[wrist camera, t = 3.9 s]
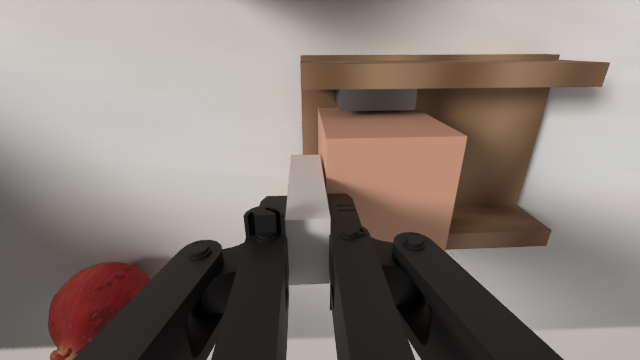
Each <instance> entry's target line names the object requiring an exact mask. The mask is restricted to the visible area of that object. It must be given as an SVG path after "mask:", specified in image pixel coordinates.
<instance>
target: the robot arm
mask: <svg viewBox="0 0 640 360" xmlns="http://www.w3.org/2000/svg"><path fill="white" fill-rule="evenodd" d="M244 223H245V232H246V239H245V242H244V243H242V244H240V245H238V246H235V247H231V248H227V249H223V250H222V247H221V245H220V244H219V243H218V242H216V241H212V240H200V241H196V242H193V243H191V244H189V245H187V246H185V247H184V248H183V249H181V250H180V251H179V252H178V253H177V254H176V255H175V256H174V257H173V258H172V259H171V260H170V261H169V262H168V263H167V264H166V265H165V266H164V267H163V268H162V269H161V270H160V271H159V272H158V273H157V274H156V275H155V277H154V278H153V279H152V280H151V281H150V282H149V283H148V284H147V285H146V286H145V287H144V288H143V289H142V290H141V291H140V292H139V293H138V294H137V295H136V296H135V297H134V298H133V299H132V300H131V301H130V302H129V303H128V304H127V305H126V306H125V307H124V308H123V309H122V310H121V311H120V312H119V313H118V314H117V315H116V316H115V317H114V318H113V319H112V320H111V321H110V322H109V323H108V324H107V325H106V326H105V327H104V328H103V329H102V330H101V331H100V332H99V333H98V334H97V335H96V336H95V337H94V338H93V339H92V340H91V341H90V342H89V343H88V344H87V345H86V346H85V348H84V349H83V350H82V351H81V352H80V353H79V354H78V355H77V356H76V357H75V358H74V359H73V360H206V359H207V358H208V356H209V354H210V352H211V351H212V349H213V347H214V345H215V343H216V345H215V348H214V352H213V355H212V359H211V360H286V351H287V329H288V307H289V286H288V283H289V285H300V284H324V283H330V310H332V314H333V323H334V332H335V341H336V350H337V359H338V360H415V358H414V355H413V352H412V350H411V347H410V344H409V341H410V343H411V345H412V346H413V348H414V349H415V351H416V352H417V354H418V355H419V357H420V358H421V360H564V359H562V358H561V357H560V356H559V355H558V354H557V353H556V352H555V351H554V350H552V349H551V348H550V347H549V346H548V345H547V344H546V343H545V342H544V341H543V340H542V339H540V338H539V337H538V336H537V335H536V334H535V333H534V332H533V331H532V330H531V329H529V328H528V327H527V326H526V325H525V324H524V323H523V322H522V321H521V320H520V319H518V318H517V317H516V316H515V315H514V314H513V313H512V312H511V311H510V310H509V309H507V308H506V307H505V306H504V305H503V304H502V303H501V302H500V301H499V300H498V299H496V298H495V297H494V296H493V295H492V294H491V293H490V292H489V291H488V290H487V289H485V288H484V287H483V286H482V285H481V284H480V283H479V282H478V281H477V280H476V279H474V278H473V277H472V276H471V275H470V274H469V273H468V272H467V271H466V270H464V269H463V268H462V267H461V266H460V265H459V264H458V263H457V262H456V261H455V260H453V259H452V258H451V257H450V256H449V255H448V254H447V253H446V252H445V251H444V250H442V249H441V248H440V247H439V246H438V245H437V244H436V243H435V242H434V241H433V240H431V239H430V238H428V237H427V236H425V235H422V234H419V233H414V232H403V233H400V234H398V235H396V236H395V237H394V241H393V242H387V241H381V240H377V239H375V238H372V237H371V236H370V233H369V231H368V230H367V229H366V228H365V227H363V226H362V225H361V222H360V219H359V216H358V213H357V211H356V207H355V204H354V201H353V198H351V197H350V196H349V195H348V194H346V193H341V194H326V189H325V183H324V177H323V171H322V165H321V159H320V155H291V163H290V173H289V184H288V194H287V196H267V197H266V198H264V199H263V200H262V201H261V203H260V206H258V207H255V208H252V209H250V210H249V211H247V212H246V213H245V215H244ZM408 340H409V341H408Z"/></svg>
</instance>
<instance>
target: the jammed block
mask: <svg viewBox="0 0 640 360" xmlns="http://www.w3.org/2000/svg"><path fill="white" fill-rule="evenodd" d="M466 141H467V136H466V135H464V134H462V133H461V132H459V131H457V130H455V129H453V128H451V127H449V126H448V125H446V124H444V123H442V122H440V121H438V120H436V119H435V118H433V117H431V116H429V115H427V114H425V113H423V112H422V111H420V110H418V109H416V108H415V110H384V111H340V110H339V108H318V155H320V159H321V165H322V171H323V177H324V183H325V189H326V194H341V193H346V194H348V195H349V196H350V197H351V198H353V201H354V204H355V207H356V211H357V213H358V216H359V219H360V222H361V225H362V226H363V227H365V228H366V229H367V230H368V231H369V233H370V236H371V237H372V238H375V239H377V240H381V241H387V242H393V241H394V237H395V236H396V235H398V234H400V233H403V232H414V233H419V234H422V235H425V236H427V237H428V238H430V239H431V240H433V241H434V242H435V243H436V244H437V245H438V246H439V247H440V248H441V249H442V250H444V251H445V250H446V244H447V239H448V234H449V229H450V224H451V219H452V213H453V208H454V203H455V198H456V193H457V188H458V183H459V177H460V172H461V167H462V162H463V157H464V152H465V147H466Z"/></svg>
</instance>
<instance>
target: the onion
mask: <svg viewBox="0 0 640 360" xmlns="http://www.w3.org/2000/svg"><path fill="white" fill-rule="evenodd" d="M149 282H150V279H149V278H148V277H147V275H146V274H145V273H144V272H143V271H142V270H141V269H139V268H137V267H135V266H134V265H130V264H125V263H119V262H112V263H101V264H97V265H94V266H91V267H89V268H86V269H84V270H81V271H80V272H78V273H77V274H76V275H74V276H73V277H72V278H71V279H70V280H69V281H68V282H67V283H66V284H65V285H64V286H63V287H62V288H61V289H60V290H59V291H58V293H57V294H56V295H55V296H54V298H53V300H52V303H51V305H50V310H49V322H48V327H49V333H50V336H51V338H52V340H53V341H54V343H55V345H56V346H57V347H58V348H57V350H55V351H53V352H52V353H51V356H50V359H51V360H73V359H74V358H75V357H76V356H77V355H78V354H79V353H80V352H81V351H82V350H83V349H84V348H85V346H86V345H87V344H88V343H89V342H90V341H91V340H92V339H93V338H94V337H95V336H96V335H97V334H98V333H99V332H100V331H101V330H102V329H103V328H104V327H105V326H106V325H107V324H108V323H109V322H110V321H111V320H112V319H113V318H114V317H115V316H116V315H117V314H118V313H119V312H120V311H121V310H122V309H123V308H124V307H125V306H126V305H127V304H128V303H129V302H130V301H131V300H132V299H133V298H134V297H135V296H136V295H137V294H138V293H139V292H140V291H141V290H142V289H143V288H144V287H145V286H146V285H147V284H148V283H149Z"/></svg>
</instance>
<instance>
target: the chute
mask: <svg viewBox="0 0 640 360" xmlns="http://www.w3.org/2000/svg"><path fill="white" fill-rule="evenodd" d="M559 56H560V55H553V54H511V55H303V56H301V91H302V129H303V155H318V108H339V110H340V111H384V110H415V108H416V109H418V110H420V111H422V112H423V113H425V114H427V115H429V116H431V117H433V118H435V119H436V120H438V121H440V122H442V123H444V124H446V125H448V126H449V127H451V128H453V129H455V130H457V131H459V132H461V133H462V134H464V135H466V136H467V141H466V147H465V152H464V157H463V162H462V167H461V172H460V177H459V183H458V188H457V193H456V198H455V203H454V208H453V213H452V219H451V224H450V229H449V234H448V239H447V244H446V249H471V248H497V247H524V246H546V244H547V241H548V239H549V236H550V233H551V230H550V229H549V228H548V227H546V226H545V225H543V224H542V223H541V222H539V221H538V220H537V219H535V218H534V217H533V216H531V215H530V214H528V213H527V212H526V211H524V210H523V209H522V208H520V207H519V206H518V205H517V202H518V199H519V195H520V192H521V188H522V185H523V181H524V178H525V174H526V171H527V167H528V164H529V160H530V157H531V153H532V150H533V146H534V143H535V139H536V136H537V132H538V129H539V125H540V122H541V118H542V115H543V111H544V108H545V104H546V101H547V98H548V94H549V91H550V87H602V85H603V82H604V79H605V76H606V73H607V70H608V67H609V65H610V63H608V62H589V61H570V60H558V59H559Z"/></svg>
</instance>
